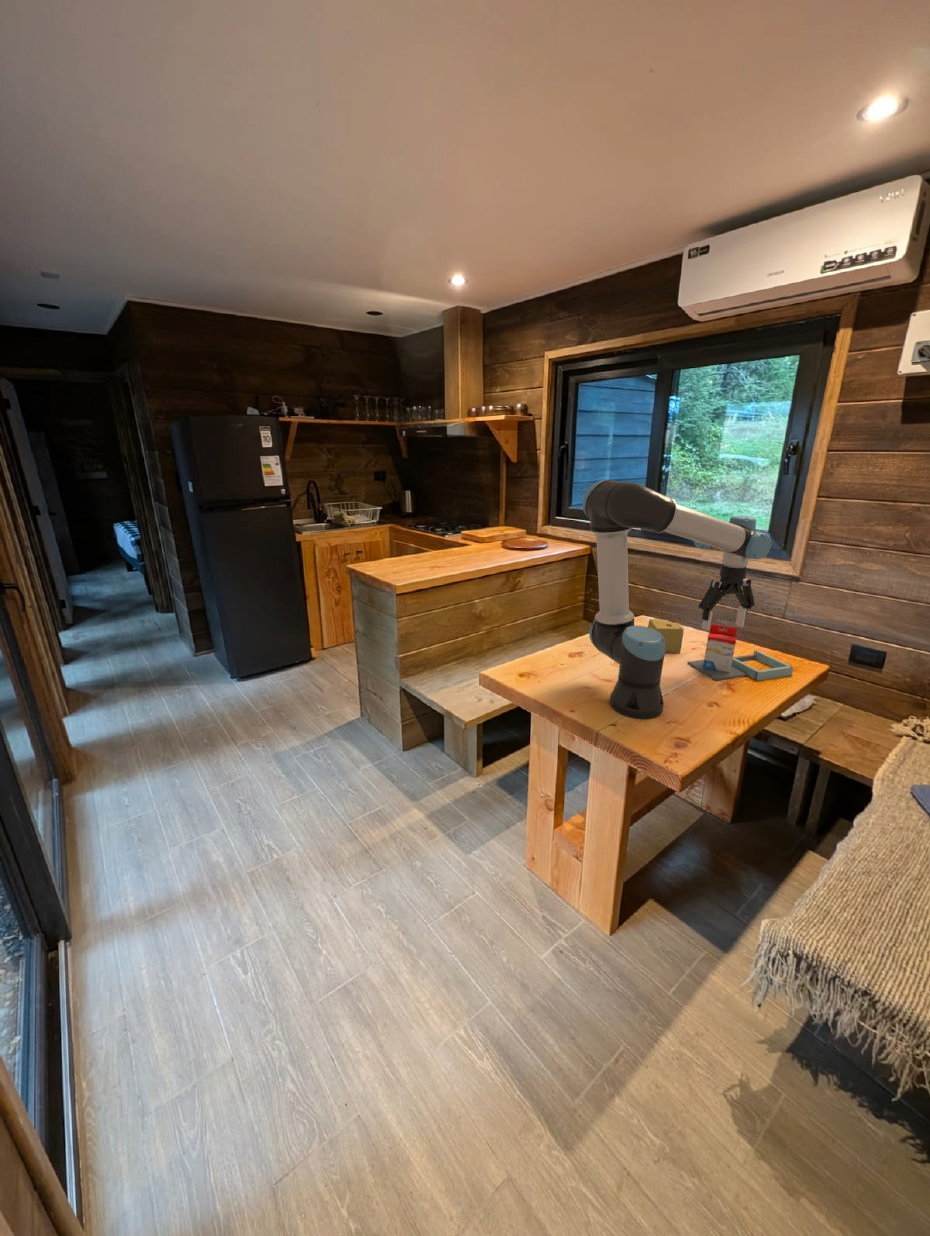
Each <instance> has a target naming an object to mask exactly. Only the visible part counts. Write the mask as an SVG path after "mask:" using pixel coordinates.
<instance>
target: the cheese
mask: <svg viewBox="0 0 930 1236" xmlns="http://www.w3.org/2000/svg"><path fill="white" fill-rule="evenodd" d="M647 628H652V629H654V630H656V631H658V632H659V633H660V634H661V635H662V636H663V637H664V639H665V653H669V654H670V653H671V654H674V653H675V654H680V653H681V649H682V644H683V639H684V638H683V637H684V630H685V629H684V628H683V626H682V625H681V624H680V623H679V622H672V621H671V620H669V619H668V620H667V619H658V618H649V620H648V625H647Z"/></svg>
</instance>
